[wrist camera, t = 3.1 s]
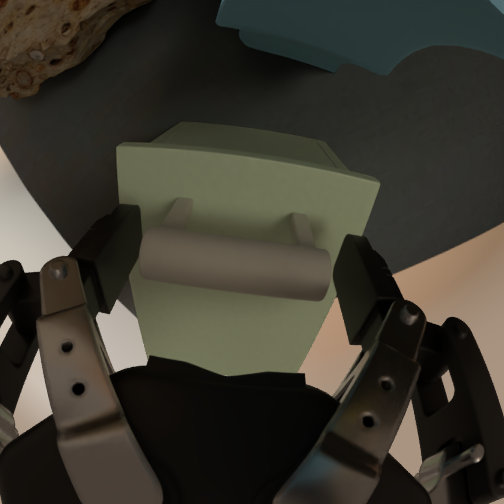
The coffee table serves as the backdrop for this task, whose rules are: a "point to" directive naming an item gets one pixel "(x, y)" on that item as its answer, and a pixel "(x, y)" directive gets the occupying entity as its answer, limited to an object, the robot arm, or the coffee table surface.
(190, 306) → the bin lid
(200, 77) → the coffee table surface
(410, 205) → the coffee table surface
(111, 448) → the robot arm
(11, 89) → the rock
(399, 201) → the coffee table surface
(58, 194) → the coffee table surface
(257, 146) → the bin
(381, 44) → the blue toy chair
